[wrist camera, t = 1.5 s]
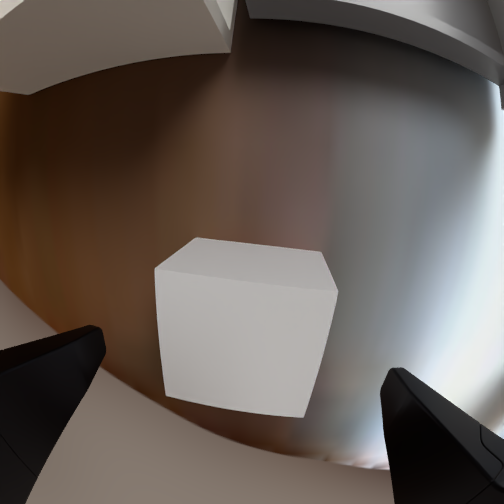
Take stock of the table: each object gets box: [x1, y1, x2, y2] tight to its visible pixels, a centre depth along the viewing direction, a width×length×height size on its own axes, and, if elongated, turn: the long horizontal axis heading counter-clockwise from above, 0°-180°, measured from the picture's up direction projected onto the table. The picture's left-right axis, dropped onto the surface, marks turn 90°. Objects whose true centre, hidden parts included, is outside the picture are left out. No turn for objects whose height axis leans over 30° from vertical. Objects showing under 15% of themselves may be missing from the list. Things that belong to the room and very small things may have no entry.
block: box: [155, 238, 338, 418], centre depth 10 cm, size 5×5×4 cm
